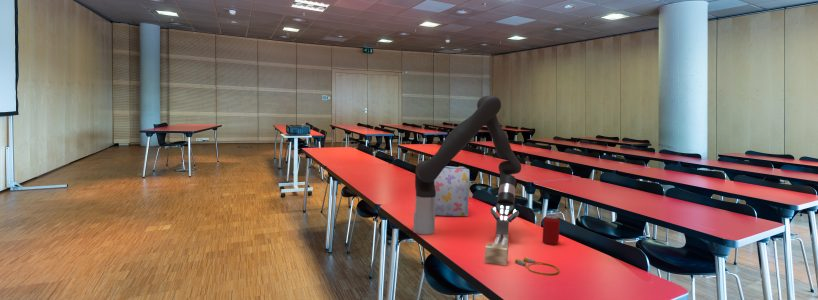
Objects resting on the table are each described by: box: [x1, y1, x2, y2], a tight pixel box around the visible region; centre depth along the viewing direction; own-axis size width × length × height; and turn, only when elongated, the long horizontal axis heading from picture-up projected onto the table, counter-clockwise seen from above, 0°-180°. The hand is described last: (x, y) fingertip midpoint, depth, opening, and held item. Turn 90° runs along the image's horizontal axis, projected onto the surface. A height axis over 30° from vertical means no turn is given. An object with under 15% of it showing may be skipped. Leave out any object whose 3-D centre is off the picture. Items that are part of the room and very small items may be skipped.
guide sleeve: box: [493, 234, 509, 246], centre depth 181 cm, size 5×16×4 cm, turn 163°
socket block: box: [484, 242, 509, 266], centre depth 165 cm, size 8×6×6 cm
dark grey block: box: [495, 219, 510, 244], centre depth 179 cm, size 5×18×10 cm, turn 163°
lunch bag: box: [434, 165, 470, 217], centre depth 238 cm, size 22×17×26 cm
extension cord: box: [514, 257, 560, 276], centre depth 160 cm, size 12×16×2 cm
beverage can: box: [542, 214, 561, 246], centre depth 190 cm, size 7×7×12 cm
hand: (502, 229), depth 186 cm, fingers closed
